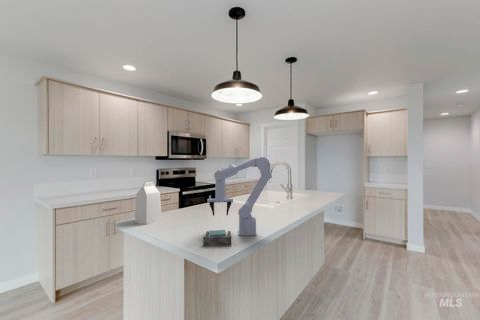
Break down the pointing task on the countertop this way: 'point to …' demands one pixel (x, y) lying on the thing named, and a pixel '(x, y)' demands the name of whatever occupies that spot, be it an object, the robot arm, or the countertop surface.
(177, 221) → the countertop surface
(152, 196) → the milk
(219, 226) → the countertop surface
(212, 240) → the guide lane
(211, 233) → the block
